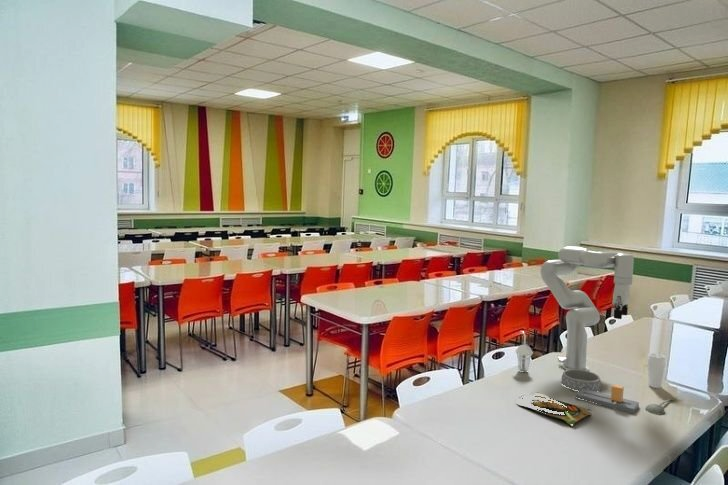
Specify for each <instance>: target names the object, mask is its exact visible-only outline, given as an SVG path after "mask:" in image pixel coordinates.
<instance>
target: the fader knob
mask: <svg viewBox="0 0 728 485" xmlns="http://www.w3.org/2000/svg"><path fill="white" fill-rule="evenodd" d="M624 389H625V388H624V386H622V385H619V384H612V385H611V392H610V395H611V400H614V401H618V402H622V401H623V398H624Z"/></svg>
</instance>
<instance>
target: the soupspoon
mask: <svg viewBox="0 0 728 485" xmlns="http://www.w3.org/2000/svg"><path fill="white" fill-rule="evenodd" d="M672 401H675V398H674V397H672V396H671V397H670V398H668V399H666V400H664V401H662V402H660V403H659V404H656V403H655V404H654V403H652V404H647V405H646V406H645V411H646V412H647V411H648V413H650V414H653V415H658V416H659V415H662V414H663V413H664V412H665V408H664V407H663V405H665V403H667V402H672Z"/></svg>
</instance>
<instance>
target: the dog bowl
mask: <svg viewBox="0 0 728 485" xmlns="http://www.w3.org/2000/svg"><path fill="white" fill-rule="evenodd" d="M561 383H562V384H563V385H565V386H566V387H569V388H571V389H574V390H578V391H580V390H581V389H582V388H583V389H587V390H591V391H595V392H597V391H599V392H601V386H602V381H601V377H600V376H599V375H598V374H596V373H595V372H592V371H590V370H589V371H585V370H578V369H570V370H566V369H565V370H564V371H563V372H562V375H561ZM561 383H560V384H561Z"/></svg>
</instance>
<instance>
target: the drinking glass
mask: <svg viewBox="0 0 728 485" xmlns="http://www.w3.org/2000/svg"><path fill="white" fill-rule="evenodd" d="M665 365H666V357H665V355H663V354H661V353H651V352H650V353H648V358H647V372H648V373H647V374H648V375H647V376H648V378H647V379H648V384H647V385H648V386H649V387H650V388H653V389H660V388H662V384H663V383H662V382H663V378H664V371H665Z"/></svg>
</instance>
